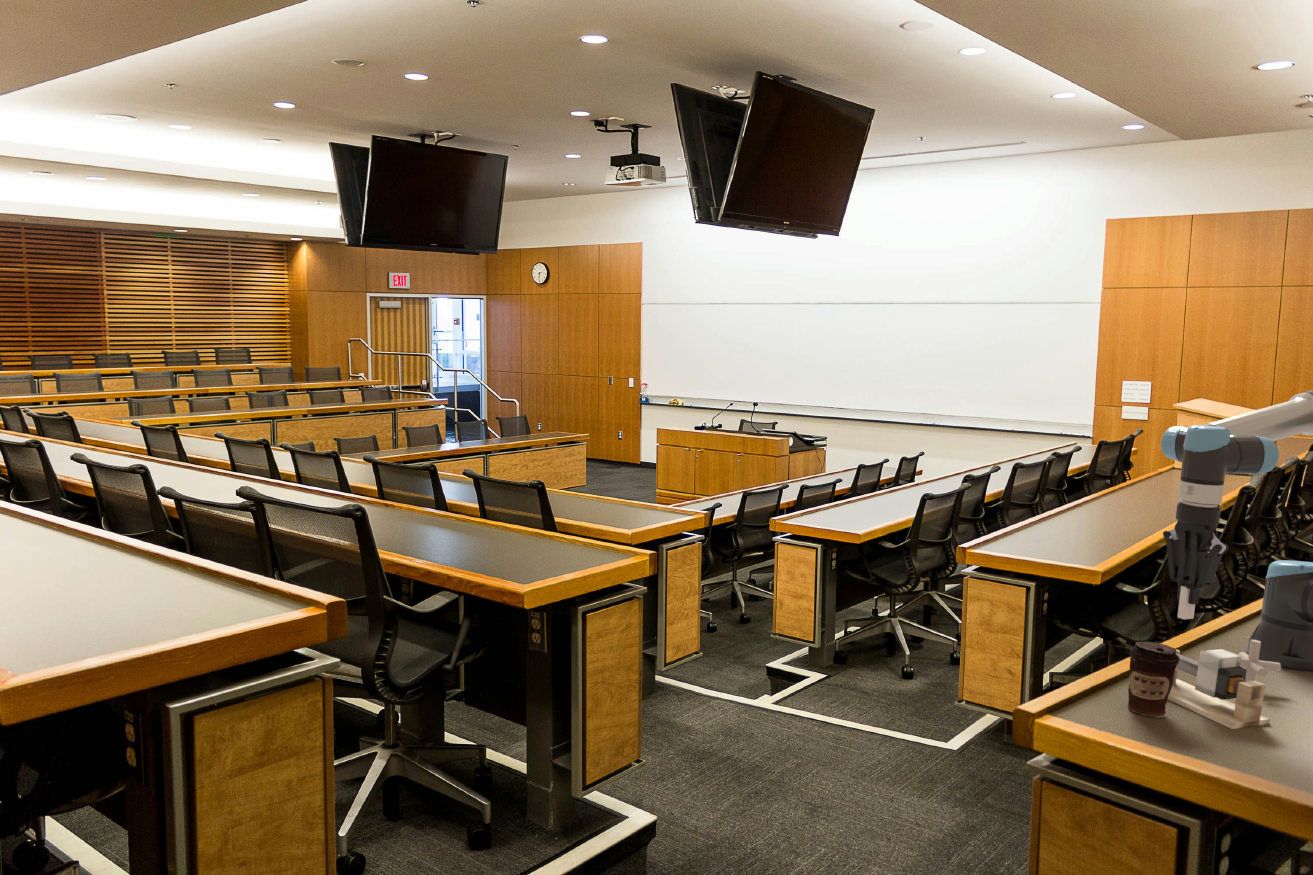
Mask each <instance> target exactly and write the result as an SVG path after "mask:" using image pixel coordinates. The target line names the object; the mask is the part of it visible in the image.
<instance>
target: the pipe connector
mask: <svg viewBox="0 0 1313 875" xmlns="http://www.w3.org/2000/svg"><path fill="white" fill-rule="evenodd" d="M1260 646H1261V642H1260V641H1258V640H1251V642H1250V649H1249V653H1248V654H1247V653H1246V652H1244V651H1241V652H1239V653H1238V654H1237V655H1239V656H1241V662H1240V667H1242V668H1245V669H1247V673H1246V679H1245V681H1247V682H1248V681H1256V677H1257V675H1258V676H1259V677H1261V678H1264V677H1266V676H1268V674H1269V672H1268V671H1273V672H1274V671H1275V672H1281V670H1282V666H1281V664H1280V663H1277V662H1269V661H1262V660H1260V659H1259V652H1260Z"/></svg>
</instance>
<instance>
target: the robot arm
mask: <svg viewBox="0 0 1313 875" xmlns="http://www.w3.org/2000/svg"><path fill="white" fill-rule="evenodd" d="M1298 435H1303V436H1308V437H1309V436H1310V437H1311V436H1313V390H1312V389H1311V390H1308V391H1305V392H1304V391H1303V392H1301V393H1298V394H1295V395H1293V396H1292V397H1290V398H1289V399H1288V401H1285V402H1281V403H1278V404H1274V405H1270V406H1267V407H1263V408H1260V409H1256V410H1253V411H1250V412H1249V411H1248V412H1246V413H1241V414H1238V415H1235V416H1231V417H1227V418H1224V419H1218V420H1217V421H1211V422H1210V423H1205V424H1193V425H1190V426H1186V425H1182V426H1180V425H1174V426H1171V427H1168V428H1167V429H1166V430H1165V431H1164V433H1163V435H1162V436H1161V438H1160V449H1161V452H1162V453H1163V455H1164V456H1165V457H1166V458H1168V459H1170V460H1174V461H1177V462H1179V463H1181V472H1180V479H1179V481H1180V482H1179V488H1178V500H1179V502H1178V503H1177V504H1176V513H1175V519H1176V520H1177V521H1176V524H1175V525H1174V528H1173V529H1170V530H1164V531H1163V533H1162V537H1163V538H1164V540H1165V544H1166V555H1167V564H1168V576H1169V578H1170V580H1173V581H1175V582H1176V583H1177V591H1176V598H1177V600H1178V609H1177V610H1178V611H1177V618H1178V619H1181V620H1193V619H1194V617H1195V608H1196V605H1198V604H1199V601H1200V594H1201V589H1205V588H1206V589H1207V588H1210V587H1211V586H1212V584H1213V581H1214V578H1215V576H1216V574H1217V571H1218V568H1219V565H1220V564H1221V563H1220V562H1221V561H1222V557H1223V555H1224V554H1225V553H1226V552H1227V551H1228V550H1229V545H1228V544H1227V543H1223V542H1221V540H1219V538H1218V537H1219V534H1218V532H1217V528H1218V526H1219V524H1220V518H1221V507H1220V506H1219V505H1221V504H1223V497H1224V496H1223V493H1224V486H1225V478H1226V475H1228V474H1231V475H1237V474H1238V475H1243V474H1244V475H1246V474H1247V475H1248V474H1250V475H1253V476H1254V475H1257V474H1266V473H1268V472H1271V471H1272V470H1274V469H1275V467H1276V466H1277V464H1278V462H1279V458H1280V457H1279V456H1280V453H1279V452H1280V451H1279V448H1278V446H1277V444H1276V443H1275V442H1276V441H1280V440H1284V439H1287V438H1290V437H1291V438H1292V437H1294V436H1298ZM1264 583H1265V584H1264V591H1263V598H1262V605H1261V612H1260V618H1259V622H1258V624H1257V625H1256V627H1255V629H1254V631H1253V632H1252V634H1251V635H1250V637H1249V639H1248V641H1247V646H1246V652H1247V653H1248V654H1249V649H1250V642H1251V640H1258V641H1260V642H1261V646H1260V652H1259V659H1258V660H1261V661H1269V662H1277V663H1280V664H1281V667H1283V668H1289V669H1293V670H1300V671H1301V670H1302V671H1310V670H1313V562H1311V561H1304V560H1303V561H1301V560H1288V559H1287V560H1275V561H1273V562H1271V563H1270V564H1269V566H1268V568H1267V574H1266V576H1265V582H1264Z"/></svg>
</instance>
